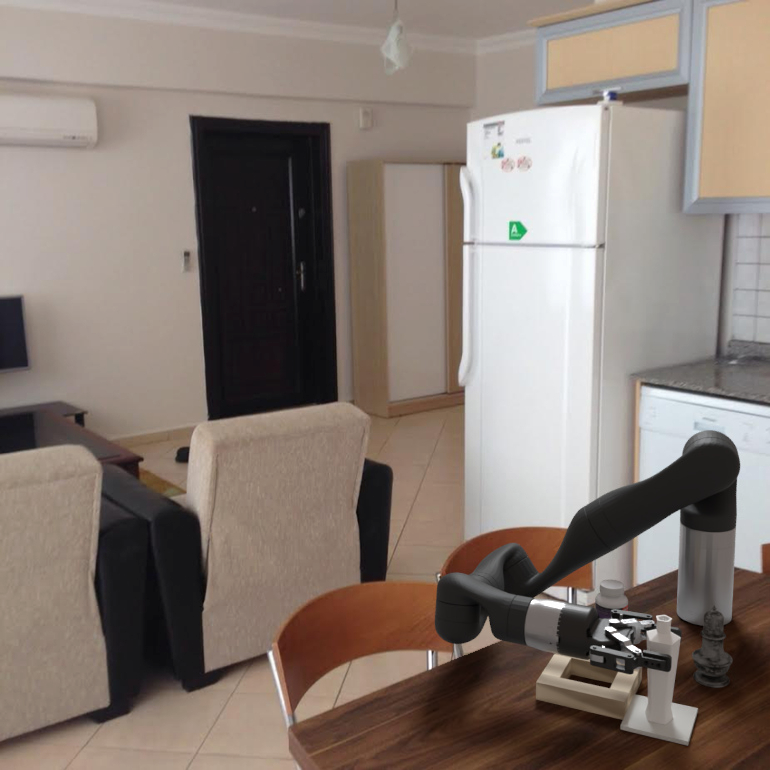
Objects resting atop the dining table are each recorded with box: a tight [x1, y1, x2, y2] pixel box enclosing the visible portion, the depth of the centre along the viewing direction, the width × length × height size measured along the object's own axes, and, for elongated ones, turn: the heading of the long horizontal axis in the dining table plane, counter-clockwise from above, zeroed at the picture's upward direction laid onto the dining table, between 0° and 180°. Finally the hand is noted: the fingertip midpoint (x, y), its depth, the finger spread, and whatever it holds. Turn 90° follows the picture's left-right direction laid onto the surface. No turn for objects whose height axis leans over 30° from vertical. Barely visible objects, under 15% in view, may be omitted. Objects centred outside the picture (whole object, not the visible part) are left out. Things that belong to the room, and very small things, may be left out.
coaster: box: [620, 693, 699, 746], centre depth 122 cm, size 9×9×1 cm
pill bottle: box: [594, 579, 629, 619], centre depth 146 cm, size 5×5×10 cm
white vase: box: [645, 614, 682, 725], centre depth 121 cm, size 5×4×15 cm
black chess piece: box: [691, 606, 733, 689], centre depth 132 cm, size 6×6×12 cm
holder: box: [535, 653, 643, 721], centre depth 130 cm, size 12×13×3 cm
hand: (676, 650), depth 119 cm, fingers open, 8 cm apart
